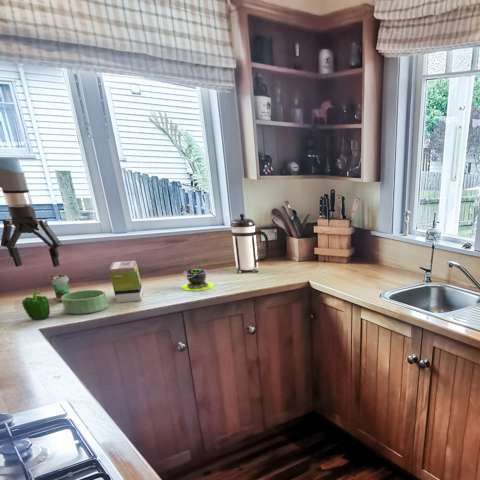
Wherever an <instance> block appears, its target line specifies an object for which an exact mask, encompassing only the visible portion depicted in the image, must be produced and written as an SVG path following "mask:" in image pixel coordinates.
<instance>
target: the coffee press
mask: <svg viewBox="0 0 480 480" xmlns="http://www.w3.org/2000/svg"><path fill="white" fill-rule="evenodd" d="M227 230H228V231H231V236H232V243H233V253H234V261H235V267H236V269H237V270H236V273H237V274H241V273H242V272H243V271H254V272H255V273H259V271H260V270H259V262H266V261H267V260H268V259H269V258H270V243H269V237H268V235H267V233H266V232H264V231H262V230H256V223H255V221H254V220H253V219H251V218H246V217H245V214H244V213H240V214H239V218H235V219H233V220H232V221H231V222H230V226H229V227H228V228H227ZM256 235H261V236H263V237H264V243H265V255H264V257H258V248H257V237H256Z"/></svg>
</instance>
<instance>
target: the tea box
mask: <svg viewBox="0 0 480 480" xmlns="http://www.w3.org/2000/svg"><path fill="white" fill-rule="evenodd" d="M137 263H138V262H137V260H124V261H112V262H111V264H110V267H109V268H108V272H109V276H110V281H111V285H112V289H113V292H114V296H115V300H116V303H118V304H119V303H130V302H140V301H142V300H143V294H144V289H143V285H142V281H141V276H140V273H139V268H138V267H139V266H138V264H137Z"/></svg>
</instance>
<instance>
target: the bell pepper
mask: <svg viewBox="0 0 480 480" xmlns="http://www.w3.org/2000/svg"><path fill="white" fill-rule="evenodd" d="M41 293H42V292H41V291H40V290H39V291H38V290H37V291H35V292H34V293H33V294H32V297H28V296H27V297H25V298H24V299H22V302H21V303H22V307H23V309H24V311H25V313H26V314H27V316H28V317H29V318H30V319H31V320H44V319H47V318H48V317H49V316H50V314H51V313H50V312H51V310H50V309H51V307H50V302H49V301H50V300H49V298H48V297H47V296H45V295H44V296H42V295H40V294H41Z"/></svg>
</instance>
